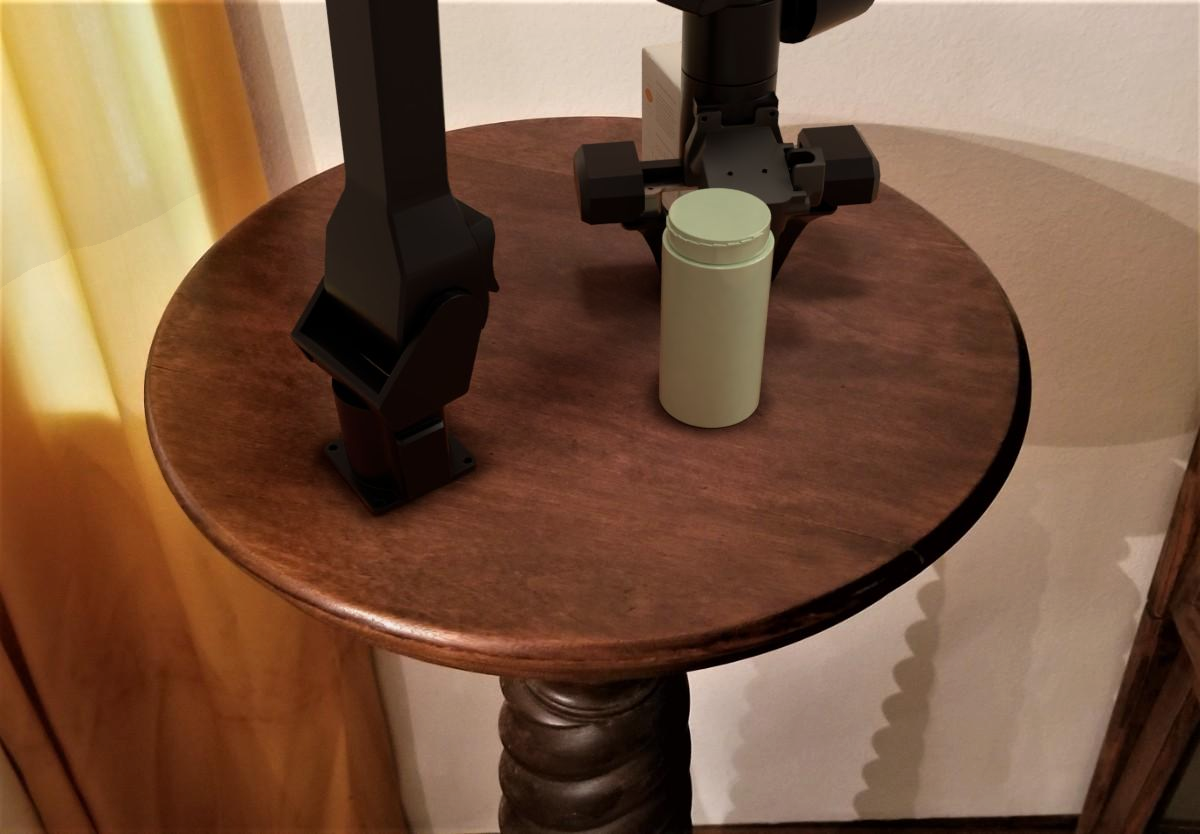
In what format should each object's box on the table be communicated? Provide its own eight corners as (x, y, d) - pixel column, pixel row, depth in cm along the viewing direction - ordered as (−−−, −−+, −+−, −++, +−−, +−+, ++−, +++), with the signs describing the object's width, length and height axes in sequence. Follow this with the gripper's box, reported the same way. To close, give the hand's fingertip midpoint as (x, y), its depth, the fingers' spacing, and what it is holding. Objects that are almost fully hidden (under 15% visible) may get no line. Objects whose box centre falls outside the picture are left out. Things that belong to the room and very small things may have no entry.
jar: (638, 394, 69) (639, 211, 61) (707, 352, 72) (717, 173, 64) (710, 442, 66) (721, 256, 57) (780, 397, 69) (800, 214, 60)
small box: (747, 214, 85) (758, 78, 78) (676, 227, 83) (680, 90, 76) (706, 164, 90) (713, 34, 83) (639, 176, 89) (640, 44, 82)
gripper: (585, 141, 61) (593, 369, 71) (926, 116, 62) (886, 344, 73) (567, 55, 70) (577, 270, 80) (868, 34, 71) (840, 249, 81)
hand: (717, 284), depth 78 cm, fingers closed on jar lid, 6 cm apart
